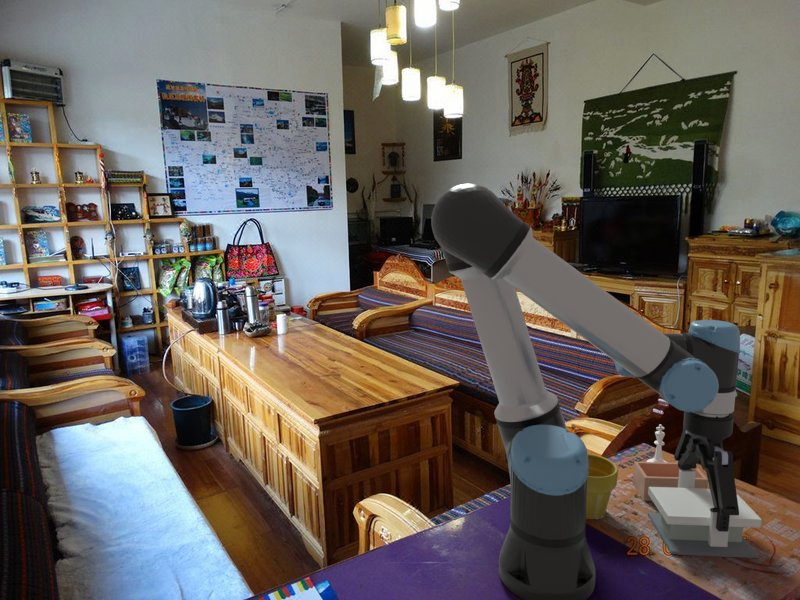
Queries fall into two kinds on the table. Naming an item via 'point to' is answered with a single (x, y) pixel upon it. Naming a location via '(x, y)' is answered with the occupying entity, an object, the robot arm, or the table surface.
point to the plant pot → (599, 485)
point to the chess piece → (658, 445)
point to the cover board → (696, 507)
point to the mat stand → (700, 540)
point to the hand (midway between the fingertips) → (700, 522)
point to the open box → (661, 477)
